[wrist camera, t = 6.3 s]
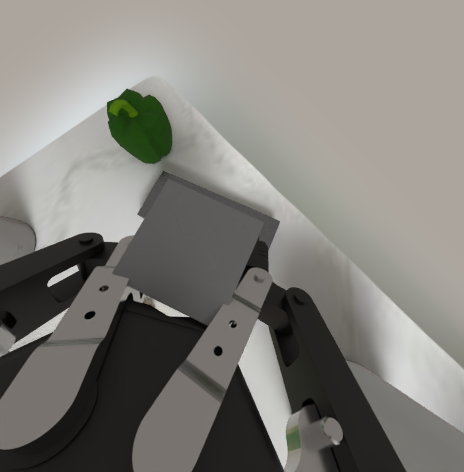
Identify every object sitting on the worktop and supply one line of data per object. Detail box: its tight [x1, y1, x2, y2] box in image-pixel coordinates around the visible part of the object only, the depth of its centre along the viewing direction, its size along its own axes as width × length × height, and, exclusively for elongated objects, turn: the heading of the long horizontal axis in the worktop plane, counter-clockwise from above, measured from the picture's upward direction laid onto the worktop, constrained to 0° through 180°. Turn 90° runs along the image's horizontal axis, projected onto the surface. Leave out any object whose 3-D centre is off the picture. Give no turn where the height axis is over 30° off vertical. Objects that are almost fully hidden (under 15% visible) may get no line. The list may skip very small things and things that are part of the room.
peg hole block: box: [137, 171, 280, 250], centre depth 28 cm, size 20×8×2 cm, turn 66°
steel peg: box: [112, 179, 265, 326], centre depth 11 cm, size 4×4×10 cm
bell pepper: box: [107, 89, 172, 164], centre depth 27 cm, size 8×8×10 cm
